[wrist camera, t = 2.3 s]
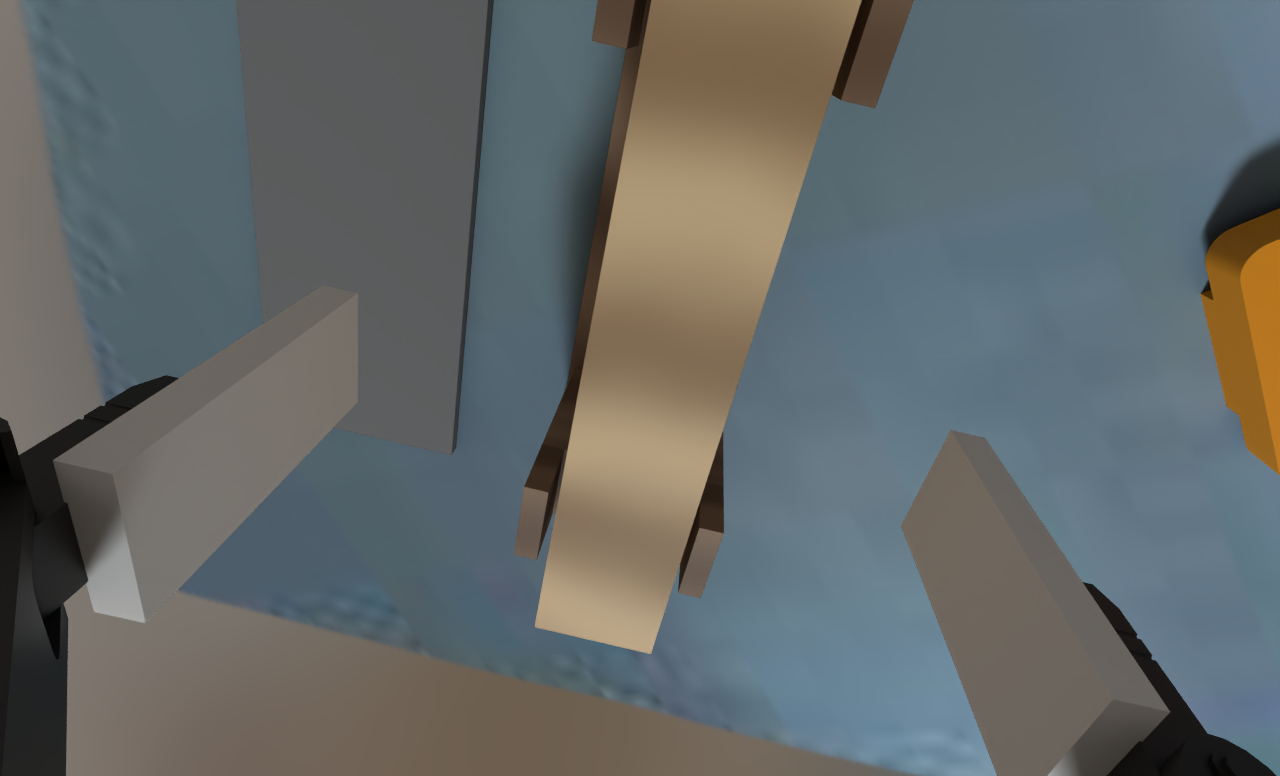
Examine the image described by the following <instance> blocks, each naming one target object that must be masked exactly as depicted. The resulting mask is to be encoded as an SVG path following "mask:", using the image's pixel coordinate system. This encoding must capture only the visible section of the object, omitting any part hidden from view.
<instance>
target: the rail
mask: <svg viewBox="0 0 1280 776" xmlns="http://www.w3.org/2000/svg"><path fill="white" fill-rule="evenodd" d="M861 1H862V0H651V5H650V11H649V16H648V21H647V27H646V32H645V37H644V43H643V48H642V54H641V59H640V64H639V70H638V75H637V80H636V86H635V91H634V96H633V102H632V107H631V113H630V118H629V123H628V129H627V134H626V139H625V145H624V150H623V156H622V161H621V166H620V172H619V177H618V182H617V188H616V193H615V198H614V204H613V209H612V215H611V220H610V225H609V231H608V236H607V241H606V247H605V252H604V257H603V263H602V268H601V274H600V279H599V284H598V290H597V295H596V300H595V306H594V311H593V317H592V322H591V327H590V333H589V338H588V343H587V349H586V354H585V359H584V365H583V370H582V376H581V381H580V386H579V392H578V397H577V402H576V408H575V413H574V418H573V424H572V429H571V435H570V440H569V445H568V451H567V456H566V461H565V467H564V472H563V478H562V483H561V488H560V494H559V499H558V504H557V510H556V515H555V520H554V526H553V531H552V537H551V542H550V547H549V553H548V558H547V563H546V569H545V574H544V579H543V585H542V590H541V596H540V601H539V606H538V612H537V617H536V622H535V627H537V628H541V629H545V630H550V631H554V632H558V633H563V634H567V635H571V636H576V637H580V638H584V639H588V640H593V641H597V642H601V643H606V644H610V645H614V646H619V647H623V648H627V649H631V650H636V651H640V652H644V653H649V654H651V652H652V649H653V646H654V642H655V639H656V636H657V633H658V630H659V627H660V624H661V621H662V618H663V615H664V611H665V608H666V605H667V602H668V599H669V596H670V593H671V590H672V587H673V584H674V580H675V577H676V574H677V571H678V568H679V565H680V562H681V559H682V556H683V553H684V549H685V546H686V543H687V540H688V537H689V534H690V531H691V528H692V525H693V522H694V518H695V515H696V512H697V509H698V506H699V503H700V500H701V497H702V494H703V491H704V487H705V484H706V481H707V478H708V475H709V472H710V469H711V466H712V463H713V460H714V456H715V453H716V450H717V447H718V444H719V441H720V438H721V435H722V432H723V429H724V425H725V422H726V419H727V416H728V413H729V410H730V407H731V404H732V401H733V398H734V394H735V391H736V388H737V385H738V382H739V379H740V376H741V373H742V370H743V367H744V363H745V360H746V357H747V354H748V351H749V348H750V345H751V342H752V339H753V336H754V332H755V329H756V326H757V323H758V320H759V317H760V314H761V311H762V308H763V305H764V301H765V298H766V295H767V292H768V289H769V286H770V283H771V280H772V277H773V274H774V270H775V267H776V264H777V261H778V258H779V255H780V252H781V249H782V246H783V243H784V239H785V236H786V233H787V230H788V227H789V224H790V221H791V218H792V215H793V212H794V208H795V205H796V202H797V199H798V196H799V193H800V190H801V187H802V184H803V181H804V177H805V174H806V171H807V168H808V165H809V162H810V159H811V156H812V153H813V150H814V146H815V143H816V140H817V137H818V134H819V131H820V128H821V125H822V122H823V119H824V116H825V112H826V109H827V106H828V103H829V100H830V97H831V94H832V91H833V88H834V85H835V81H836V78H837V75H838V72H839V69H840V66H841V63H842V60H843V57H844V54H845V50H846V47H847V44H848V41H849V38H850V35H851V32H852V29H853V26H854V23H855V19H856V16H857V13H858V10H859V7H860V4H861Z"/></svg>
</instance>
